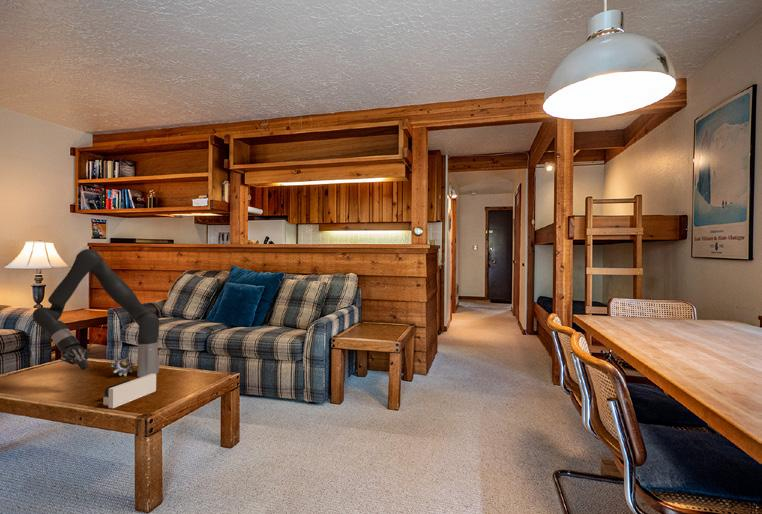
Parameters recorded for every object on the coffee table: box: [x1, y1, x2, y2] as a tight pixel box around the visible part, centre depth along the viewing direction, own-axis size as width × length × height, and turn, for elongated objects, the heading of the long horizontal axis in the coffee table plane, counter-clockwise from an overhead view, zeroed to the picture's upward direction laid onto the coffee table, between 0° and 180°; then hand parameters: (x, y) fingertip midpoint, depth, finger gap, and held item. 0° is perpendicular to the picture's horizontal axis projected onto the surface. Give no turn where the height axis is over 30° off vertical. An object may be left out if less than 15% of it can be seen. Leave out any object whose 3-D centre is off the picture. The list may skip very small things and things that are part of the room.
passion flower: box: [108, 356, 136, 377], centre depth 205 cm, size 11×11×12 cm
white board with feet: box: [102, 374, 157, 409], centre depth 171 cm, size 22×7×8 cm, turn 166°
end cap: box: [104, 379, 131, 397], centre depth 172 cm, size 10×7×7 cm
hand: (86, 368), depth 178 cm, fingers closed
